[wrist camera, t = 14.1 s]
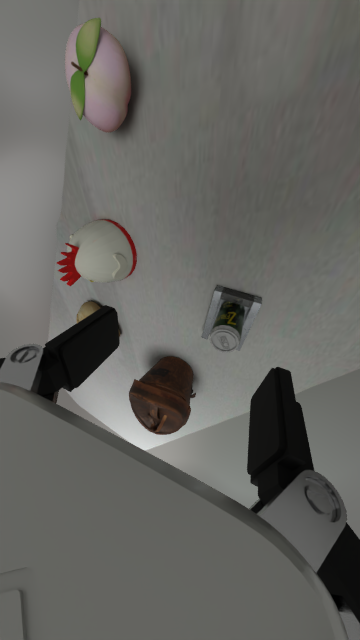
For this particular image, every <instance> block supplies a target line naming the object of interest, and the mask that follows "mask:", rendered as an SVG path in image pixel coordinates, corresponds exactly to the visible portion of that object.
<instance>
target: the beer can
mask: <svg viewBox="0 0 360 640" xmlns="http://www.w3.org/2000/svg"><path fill="white" fill-rule="evenodd" d="M244 315H245V308H244V306H242V305H238V304H235V303H232V302H228V301H226V302H224V303H223V304H222V305H221V307H220V310H219V312H218V315H217V317H216V320H215V322H214V325H213V327H212V330H211V333H210V342H211V344H212V346H213V347H214V348H215V349H217V350H219V351H221V352H232V351H234V350H236V348H237V347H238V345H239V344H240V341H241V335H242V329H243V322H244Z"/></svg>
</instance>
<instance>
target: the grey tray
mask: <svg viewBox="0 0 360 640" xmlns="http://www.w3.org/2000/svg"><path fill="white" fill-rule="evenodd" d="M226 301H228V302H232V303H235V304H238V305H242V306H244V308H245V315H244V322H243V329H242V335H241V341H240V344H239V345H238V347H237V348H236V350H238V351H240V349H241V346H242V344H243V342H244V340H245V338H246V336H247V334H248V332H249V330H250V328H251V325H252V323H253V321H254V319H255V317H256V315H257V313H258V311H259V309H260V307H261V304H262V298H260V297H257V296H253V295H250V294H246V293H243V292H239V291H236V290H232V289H229V288H225V287H222V286H218V285H217V287H216V289H215V291H214V295H213V298H212V302H211V305H210V309H209V312H208V316H207V319H206V323H205V326H204V330H203V333H202V338H205V339H208V336H209V334H210V333H211V330H212V327H213V325H214V322H215V320H216V317H217V315H218V312H219V310H220V307H221V305H222V304H223V303H224V302H226Z"/></svg>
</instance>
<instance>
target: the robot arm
mask: <svg viewBox="0 0 360 640" xmlns="http://www.w3.org/2000/svg"><path fill="white" fill-rule="evenodd" d="M45 346H46V347H45V348H42V346H40V345H37V344H28V345H23V346H20V347H18V348H16V349H14V350H13V351H11V352H10V353H9V354H8V356H7V357H6V358H1V359H0V640H360V539H359V538H358V537H357V536H356V534H355V533H354V532H353V530H352V529H351V528H350V526H349V525H348V524H347V522H346V521H347V514H346V509H345V506H344V503H343V500H342V499H341V497H340V495H339V493H338V492H337V490H336V489H335V488H334V486H333V485H332V484H331V483H330V482H329V481H328V480H327V479H326V478H325V477H324V476H322V475H321V474H319V473H318V472H315V471H314V467H313V463H312V457H311V453H310V447H309V442H308V437H307V433H306V428H305V422H304V417H303V412H302V408H301V405H300V404H299V403H298V402H296V400H295V394H294V388H293V383H292V377H291V372H290V371H288V370H285V369H283V368H280V367H276V368H275V369H274V368H272V369H271V370H270V371H269V373H268V374H267V376H266V377H265V379H264V380H263V382H262V383H261V385H260V386H259V388H258V389H257V390H256V392H255V393H254V395H253V396H252V399H251V405H250V426H249V445H248V464H247V472H248V474H250V475H251V483H252V484H254V485H255V486H258V496H259V499H258V500H257V501H256V502H255V503H254V504H253V505H252V506H251V507H250V508H249V509H248V508H246V507H245V506H243V505H241V504H240V503H238V502H237V501H235V500H233V499H231V498H230V497H228V496H226V495H224V494H223V493H221V492H219V491H217V490H215V489H213V488H212V487H210V486H208V485H207V484H205V483H203V482H201V481H199V480H197V479H196V478H194V477H192V476H190V475H188V474H186V473H184V472H183V471H181V470H179V469H177V468H175V467H174V466H172V465H170V464H168V463H166V462H164V461H163V460H161V459H159V458H157V457H155V456H153V455H151V454H149V453H148V452H146V451H144V450H142V449H140V448H138V447H136V446H135V445H133V444H131V443H129V442H127V441H125V440H123V439H122V438H120V437H118V436H116V435H114V434H112V433H110V432H108V431H107V430H105V429H103V428H101V427H99V426H97V425H95V424H93V423H92V422H89V421H88V420H86V419H84V418H82V417H80V416H78V415H76V414H74V413H73V412H71V411H69V410H67V409H65V408H63V407H61V406H59V405H57V404H56V402H57V397H58V392H59V390H60V389H61V388H62V387H63V388H64V389H66V390H68V391H70V392H71V391H72V390H73V389H74V388H77V387H79V386H80V385H81V384H82V383H83V382H84V381H85V380H86V379H87V378H88V377H89V376H90V375H91V374H92V373H93V372H94V371H95V370H96V369H97V368H98V367H99V366H100V365H101V364H102V363H103V362H104V361H105V360H106V359H107V358H108V357H109V356H110V355H111V354H112V353H113V352H114V351H115V350H116V349H117V348H118V346H119V329H118V316H117V312H116V310H115V308H112V307H109V306H107V305H105V306H103V307H101V308H100V309H98V310H97V311H95V312H94V313H92V314H91V315H89V316H88V317H86V318H85V319H83V320H81V321H80V322H78V323H77V324H75V325H74V326H72V327H71V328H69V329H68V330H66V331H65V332H63V333H61V334H60V335H58V336H57V337H55V338H54V339H52V340H51V341H49V342H48V343H46V344H45Z"/></svg>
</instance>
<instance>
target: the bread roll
mask: <svg viewBox="0 0 360 640" xmlns="http://www.w3.org/2000/svg"><path fill="white" fill-rule="evenodd" d="M98 309H100V307H99V306H98V304H96V303H95V302H91V301H89V302H86V303H84V304H83V305H82V306H81V308H80V310H79V312H78V314H77V323H78V322H80V321H81V320H83V319H85V318H86V317H88V316H89V315H91V314H92V313H94V312H95V311H97V310H98ZM119 337H120V331H119Z"/></svg>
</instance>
